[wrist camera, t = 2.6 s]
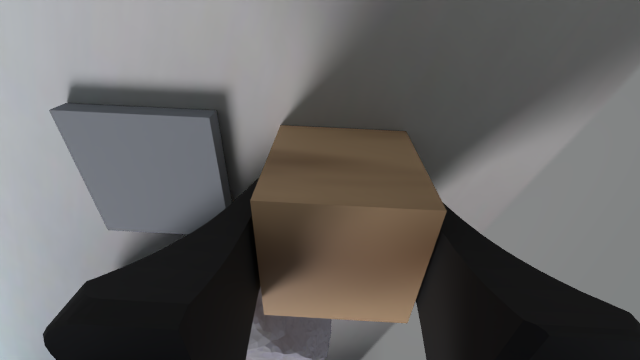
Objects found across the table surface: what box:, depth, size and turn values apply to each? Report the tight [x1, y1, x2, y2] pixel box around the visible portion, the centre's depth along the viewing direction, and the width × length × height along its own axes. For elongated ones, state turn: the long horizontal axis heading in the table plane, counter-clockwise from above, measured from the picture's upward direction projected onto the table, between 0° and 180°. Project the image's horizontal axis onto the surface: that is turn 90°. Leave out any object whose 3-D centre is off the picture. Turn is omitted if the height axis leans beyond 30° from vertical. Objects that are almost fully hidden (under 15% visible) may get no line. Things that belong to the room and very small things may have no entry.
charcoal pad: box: [49, 103, 232, 234], centre depth 13 cm, size 6×6×1 cm
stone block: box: [246, 286, 331, 360], centre depth 16 cm, size 12×5×10 cm
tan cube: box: [250, 125, 447, 323], centre depth 11 cm, size 5×5×5 cm
